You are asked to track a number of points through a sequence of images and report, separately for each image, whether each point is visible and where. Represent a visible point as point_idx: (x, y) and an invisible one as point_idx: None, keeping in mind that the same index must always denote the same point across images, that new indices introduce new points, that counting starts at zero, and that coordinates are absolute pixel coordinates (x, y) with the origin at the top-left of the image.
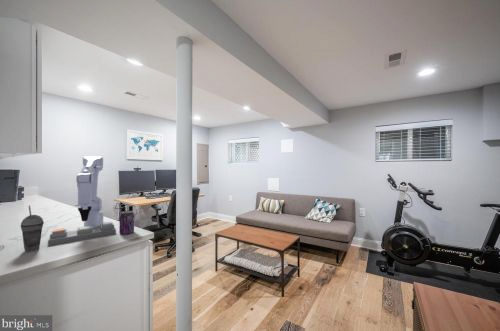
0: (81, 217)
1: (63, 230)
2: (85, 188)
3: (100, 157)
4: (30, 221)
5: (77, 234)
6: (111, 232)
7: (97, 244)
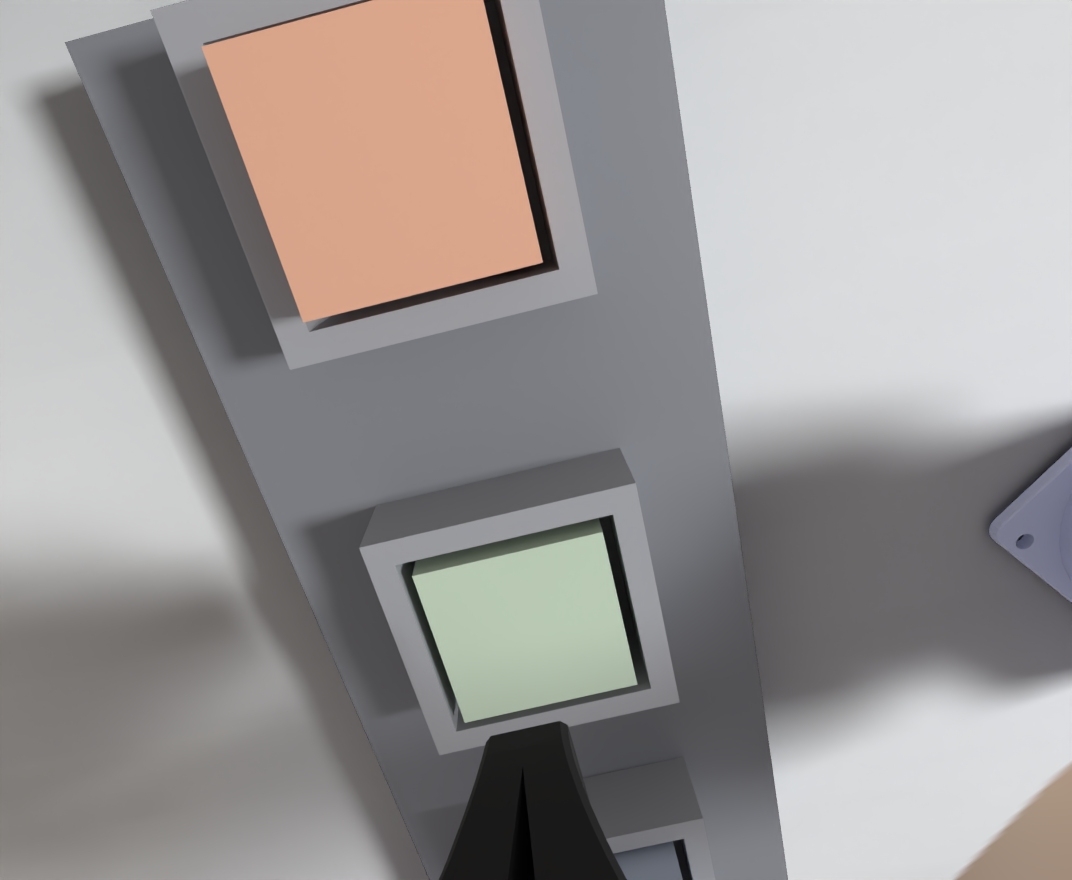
0: (450, 851)
1: (295, 301)
2: None
3: None
4: None
5: (360, 514)
6: None
7: (16, 775)
